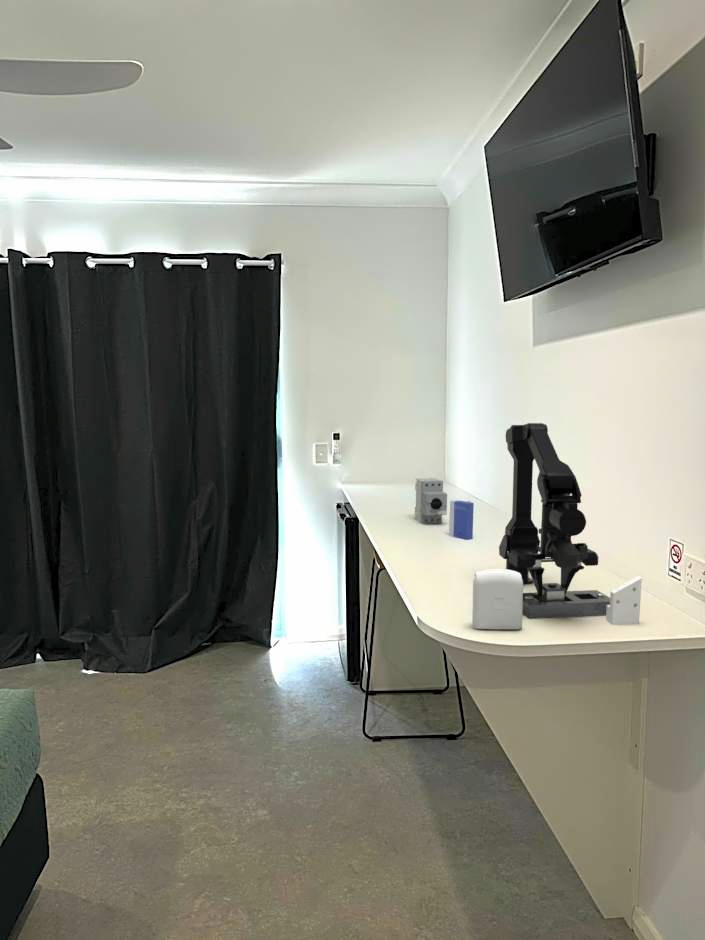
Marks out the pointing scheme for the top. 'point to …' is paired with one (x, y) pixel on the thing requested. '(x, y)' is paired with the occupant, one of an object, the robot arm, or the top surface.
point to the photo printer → (497, 599)
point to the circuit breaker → (430, 501)
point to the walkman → (461, 519)
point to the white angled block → (625, 603)
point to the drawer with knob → (552, 593)
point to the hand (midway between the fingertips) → (551, 595)
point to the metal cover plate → (566, 605)
